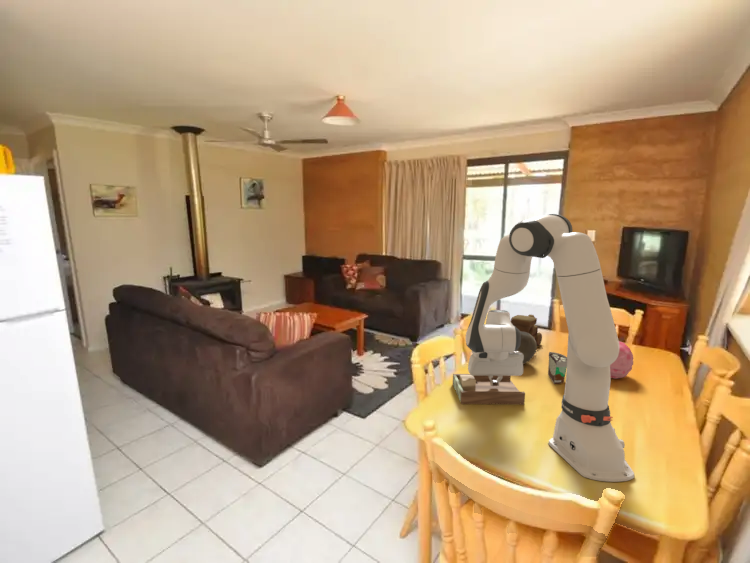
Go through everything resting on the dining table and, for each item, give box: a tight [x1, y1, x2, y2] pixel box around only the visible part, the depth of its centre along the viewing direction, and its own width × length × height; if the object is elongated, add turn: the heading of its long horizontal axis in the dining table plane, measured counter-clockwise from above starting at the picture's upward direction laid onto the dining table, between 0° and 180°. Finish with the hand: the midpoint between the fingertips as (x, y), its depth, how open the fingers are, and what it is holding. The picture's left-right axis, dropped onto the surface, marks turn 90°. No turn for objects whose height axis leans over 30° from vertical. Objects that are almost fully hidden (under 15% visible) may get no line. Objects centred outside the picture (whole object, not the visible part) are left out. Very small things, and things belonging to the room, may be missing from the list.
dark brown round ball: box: [516, 331, 538, 365], centre depth 169 cm, size 14×14×15 cm
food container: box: [547, 351, 567, 385], centre depth 151 cm, size 12×6×10 cm, turn 168°
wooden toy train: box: [510, 314, 543, 346], centre depth 191 cm, size 20×11×17 cm, turn 137°
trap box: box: [452, 373, 526, 405], centre depth 140 cm, size 16×23×4 cm
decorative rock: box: [610, 340, 634, 379], centre depth 156 cm, size 19×14×15 cm
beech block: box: [460, 375, 476, 390], centre depth 140 cm, size 5×5×4 cm
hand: (494, 385), depth 139 cm, fingers closed
